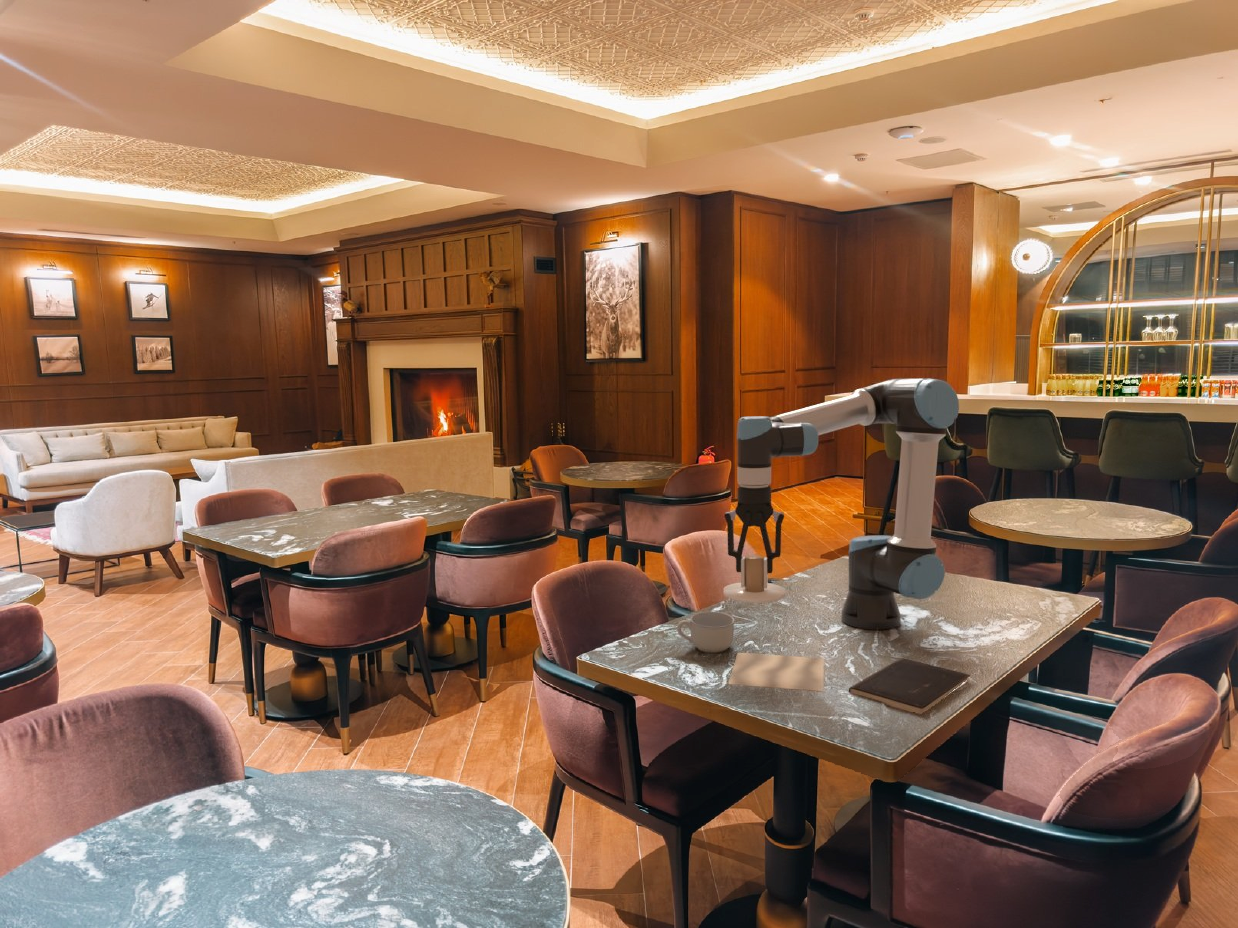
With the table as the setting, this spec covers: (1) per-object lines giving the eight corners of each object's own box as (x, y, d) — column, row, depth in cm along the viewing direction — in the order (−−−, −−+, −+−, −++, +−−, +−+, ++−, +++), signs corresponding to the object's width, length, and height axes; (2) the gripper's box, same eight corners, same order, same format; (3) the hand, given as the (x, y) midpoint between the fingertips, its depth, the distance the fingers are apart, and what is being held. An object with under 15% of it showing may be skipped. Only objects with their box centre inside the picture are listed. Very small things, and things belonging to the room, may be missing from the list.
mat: (823, 659, 192) (823, 658, 192) (823, 692, 173) (823, 691, 173) (737, 654, 197) (737, 652, 197) (728, 685, 178) (728, 683, 178)
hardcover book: (969, 684, 177) (970, 674, 177) (922, 718, 161) (922, 707, 161) (899, 666, 188) (899, 656, 188) (848, 696, 172) (848, 685, 172)
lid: (786, 587, 193) (786, 551, 192) (785, 604, 180) (785, 566, 179) (726, 584, 196) (725, 550, 195) (721, 601, 182) (720, 564, 181)
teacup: (733, 642, 206) (733, 611, 205) (735, 657, 195) (735, 624, 194) (677, 641, 207) (677, 610, 206) (676, 656, 196) (676, 624, 195)
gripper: (793, 483, 187) (793, 583, 189) (717, 482, 190) (717, 580, 193) (793, 488, 179) (793, 592, 182) (713, 487, 183) (714, 589, 186)
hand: (754, 586), depth 188 cm, fingers closed on lid, 4 cm apart
